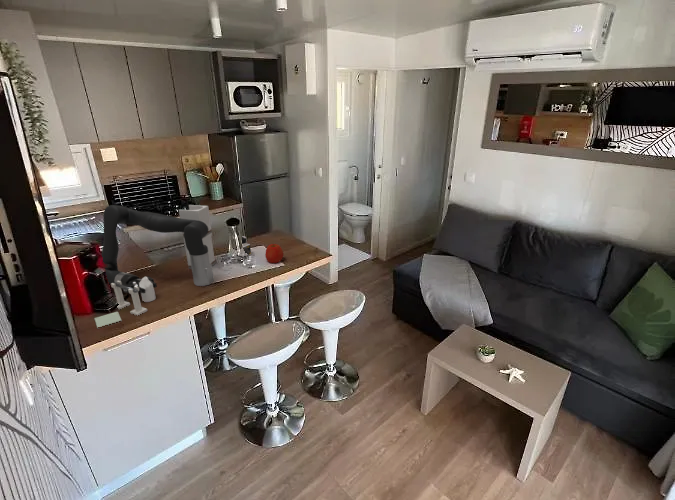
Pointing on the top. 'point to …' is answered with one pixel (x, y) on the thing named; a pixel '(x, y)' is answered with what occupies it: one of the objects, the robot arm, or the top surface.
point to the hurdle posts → (122, 303)
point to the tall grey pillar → (202, 215)
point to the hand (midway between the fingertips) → (150, 288)
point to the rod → (125, 287)
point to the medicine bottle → (246, 245)
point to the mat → (107, 319)
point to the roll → (147, 290)
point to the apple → (274, 253)
